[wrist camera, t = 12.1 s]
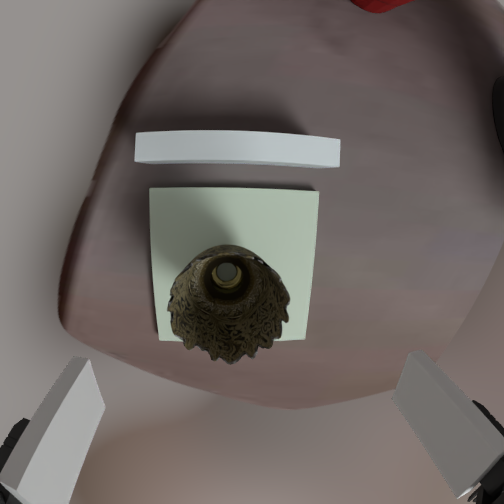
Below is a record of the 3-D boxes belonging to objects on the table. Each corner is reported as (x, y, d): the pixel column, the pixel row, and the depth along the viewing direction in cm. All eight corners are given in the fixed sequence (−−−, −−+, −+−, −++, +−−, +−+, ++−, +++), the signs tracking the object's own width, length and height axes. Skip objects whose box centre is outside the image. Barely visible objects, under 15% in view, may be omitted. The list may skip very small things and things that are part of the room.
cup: (167, 281, 24) (145, 326, 16) (214, 210, 23) (210, 227, 15) (237, 324, 26) (243, 380, 18) (287, 260, 25) (314, 298, 17)
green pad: (316, 191, 24) (319, 191, 23) (302, 335, 28) (304, 339, 27) (151, 187, 23) (149, 188, 22) (160, 336, 26) (159, 340, 26)
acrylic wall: (317, 145, 23) (340, 139, 18) (317, 168, 24) (339, 167, 19) (152, 141, 22) (135, 132, 17) (152, 164, 22) (134, 161, 18)
